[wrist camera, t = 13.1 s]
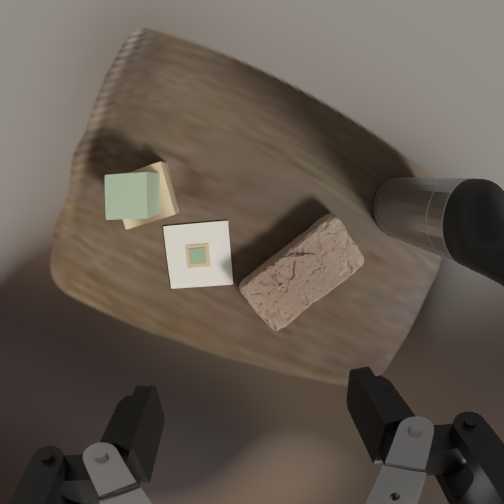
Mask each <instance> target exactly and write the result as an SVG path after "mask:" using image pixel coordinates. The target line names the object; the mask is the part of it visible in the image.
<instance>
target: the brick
mask: <svg viewBox="0 0 504 504" xmlns="http://www.w3.org/2000/svg"><path fill="white" fill-rule="evenodd" d="M363 263H364V257H363V254H362V253H361V251H360V250H359V248H358V246H357V245H356V244H355V242H354V241H353V240H352V238H351V236H350V235H349V234H348V232H347V230H346V228H345V226H344V225H343V223H342V221H341V220H340V219H339V217H337V216H336V215H334V214H331V213H328V214H325V215H324V216H323V217H321V218H320V219H318V220H317V221H316V222H315V223H314V224H312V225H311V226H310V227H309V229H308V230H306V231H305V232H304V233H302V234H300V235H299V236H297V237H296V238H295V239H294V240H293V241H292V242H291V243H289V244H287V245H286V246H284V247H283V248H282V249H281V250H280V251H278V252H277V253H276V254H275V255H273V256H272V257H270V258H269V259H268V260H266V262H264V263H263V264H262V265H260V266H259V267H258V268H256V269H255V270H254V271H253V272H252V273H251V274H249V275H248V276H246V277H245V278H244V279H242V281H241V282H240V284H239V290H240V292H241V294H242V295H243V296H244V298H246V299H247V301H248V303H249V304H250V305H251V307H252V308H253V309H254V310H255V311H256V312H257V313H258V315H259V316H260V317H261V318H262V319H263V320H264V321H265V322H266V323H267V324H268V326H269V327H271V328H272V329H273V330H274V331H278V330H280V329H281V328H284V327H286V326H287V325H288V324H289V323H291V322H292V321H293V320H294V319H295V318H296V317H297V316H299V315H300V314H301V313H302V312H303V311H304V310H305V309H307V308H308V307H309V306H310V305H311V304H312V303H313V302H315V301H317V300H319V299H320V298H322V297H323V296H325V295H326V294H327V293H329V292H330V291H331V290H332V289H334V288H335V287H337V286H338V285H339V284H341V283H342V282H343V281H345V280H346V279H347V278H348V277H349V276H350V275H352V274H353V273H354V272H355V271H356V270H357V269H358V268H360V267H361V266H362V265H363Z"/></svg>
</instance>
